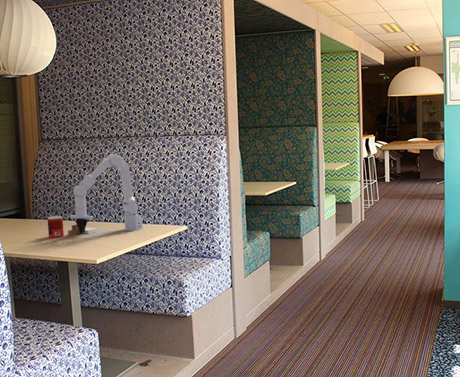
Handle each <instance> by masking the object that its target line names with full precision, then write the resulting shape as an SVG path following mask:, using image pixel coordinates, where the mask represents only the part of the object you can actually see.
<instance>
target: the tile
mask: <svg viewBox="0 0 460 377" xmlns="http://www.w3.org/2000/svg"><path fill="white" fill-rule="evenodd" d="M97 230H98V228H96V227H95V228H94V227H85V232H84V233H83V234H90V233H94V232H97Z"/></svg>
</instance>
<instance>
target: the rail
mask: <svg viewBox="0 0 460 377" xmlns="http://www.w3.org/2000/svg"><path fill="white" fill-rule="evenodd" d="M67 236H74V235H73V231H72V229H68V230H67Z"/></svg>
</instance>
